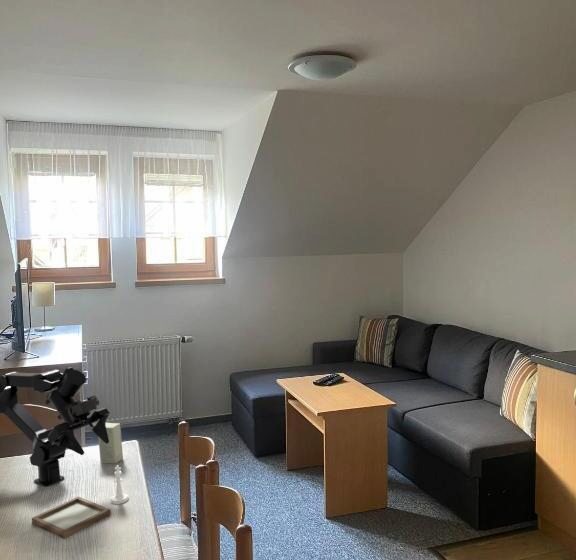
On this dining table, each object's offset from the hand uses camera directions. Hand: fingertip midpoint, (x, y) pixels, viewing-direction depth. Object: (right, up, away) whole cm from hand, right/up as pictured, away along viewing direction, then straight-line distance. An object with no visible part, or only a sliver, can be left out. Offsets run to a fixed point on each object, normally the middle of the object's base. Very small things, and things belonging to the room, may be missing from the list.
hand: (96, 448), depth 165 cm
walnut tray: (-2, -15, -13) cm, 20 cm away
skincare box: (-3, -12, +26) cm, 28 cm away
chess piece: (+8, -14, -3) cm, 16 cm away
